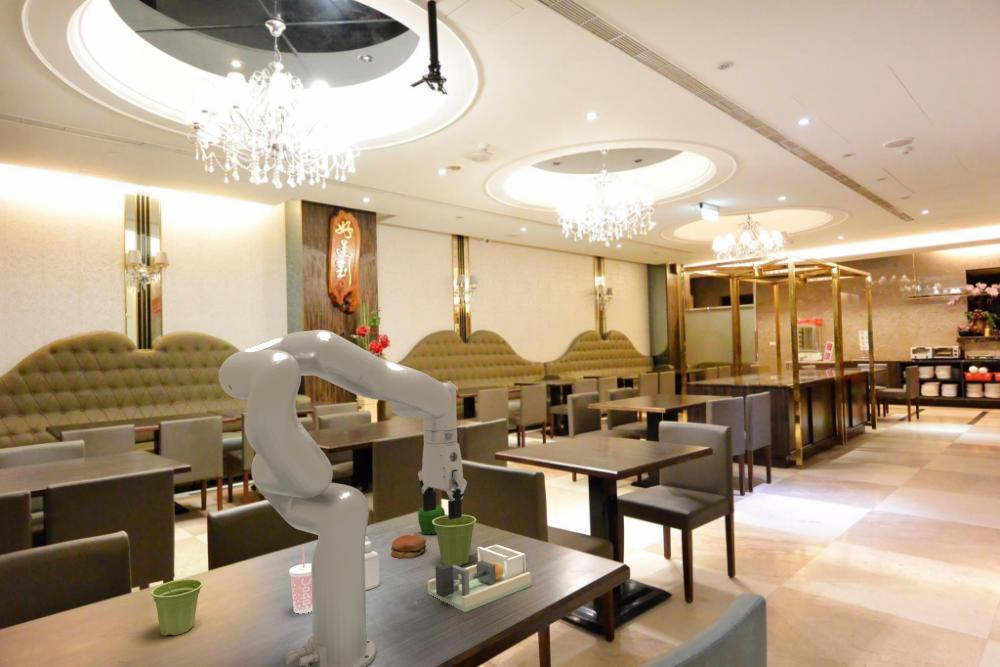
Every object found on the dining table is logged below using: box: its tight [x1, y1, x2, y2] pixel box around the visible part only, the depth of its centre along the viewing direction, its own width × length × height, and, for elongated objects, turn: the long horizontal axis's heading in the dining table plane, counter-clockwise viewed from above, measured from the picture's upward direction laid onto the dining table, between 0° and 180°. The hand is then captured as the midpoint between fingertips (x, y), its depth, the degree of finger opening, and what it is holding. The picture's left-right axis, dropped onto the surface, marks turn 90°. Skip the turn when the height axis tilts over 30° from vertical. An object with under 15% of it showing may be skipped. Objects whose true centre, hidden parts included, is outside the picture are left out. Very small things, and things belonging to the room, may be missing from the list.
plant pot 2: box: [432, 514, 477, 567], centre depth 154 cm, size 12×12×11 cm
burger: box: [390, 533, 427, 559], centre depth 163 cm, size 10×9×5 cm
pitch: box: [427, 544, 532, 613], centre depth 135 cm, size 20×14×8 cm
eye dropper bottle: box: [365, 536, 380, 591], centre depth 139 cm, size 4×6×12 cm
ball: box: [491, 562, 504, 580], centre depth 138 cm, size 4×4×4 cm
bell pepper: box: [417, 504, 446, 535], centre depth 181 cm, size 8×8×10 cm
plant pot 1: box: [150, 578, 204, 637], centre depth 120 cm, size 9×9×9 cm
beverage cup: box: [288, 544, 312, 615], centre depth 128 cm, size 6×6×14 cm
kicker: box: [435, 560, 496, 597], centre depth 132 cm, size 14×5×6 cm, turn 131°
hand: (442, 514), depth 129 cm, fingers open, 9 cm apart
